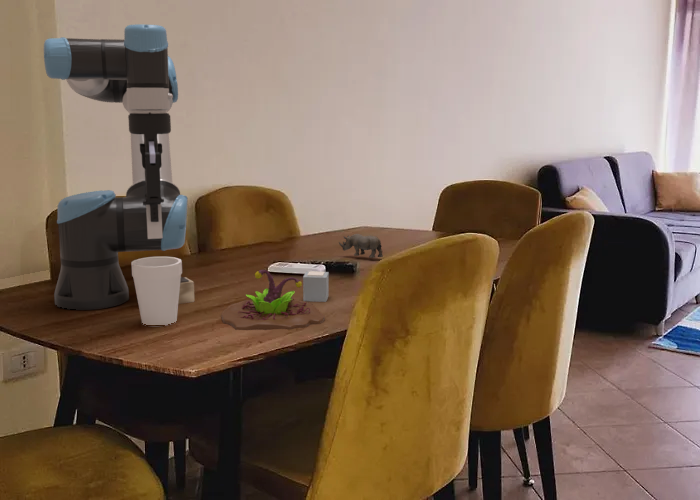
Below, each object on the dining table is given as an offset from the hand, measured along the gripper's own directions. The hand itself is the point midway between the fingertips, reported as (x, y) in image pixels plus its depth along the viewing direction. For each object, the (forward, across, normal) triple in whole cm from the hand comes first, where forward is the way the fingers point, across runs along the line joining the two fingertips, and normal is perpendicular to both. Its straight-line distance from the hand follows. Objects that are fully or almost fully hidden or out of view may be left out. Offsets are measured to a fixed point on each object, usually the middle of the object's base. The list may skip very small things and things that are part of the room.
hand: (155, 237), depth 145 cm
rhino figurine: (+18, +54, -58) cm, 81 cm away
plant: (+18, -2, -22) cm, 28 cm away
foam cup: (+18, 0, 0) cm, 18 cm away
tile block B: (+18, +10, -34) cm, 40 cm away
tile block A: (+18, +16, -5) cm, 25 cm away
